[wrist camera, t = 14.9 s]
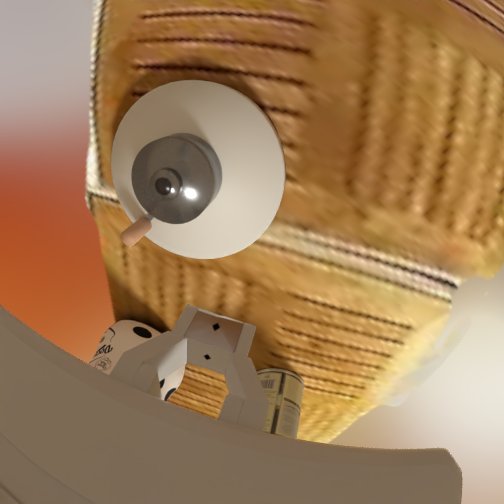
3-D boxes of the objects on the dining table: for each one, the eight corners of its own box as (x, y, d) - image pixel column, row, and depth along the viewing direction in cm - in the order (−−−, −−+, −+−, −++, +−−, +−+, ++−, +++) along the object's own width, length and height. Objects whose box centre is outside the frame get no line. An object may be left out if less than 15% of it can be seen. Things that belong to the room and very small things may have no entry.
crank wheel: (190, 44, 24) (162, 36, 18) (326, 180, 29) (328, 200, 24) (97, 171, 34) (68, 186, 29) (202, 277, 39) (185, 305, 34)
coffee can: (277, 400, 54) (264, 459, 42) (240, 377, 51) (220, 440, 40) (316, 386, 48) (308, 453, 37) (278, 360, 46) (263, 433, 34)
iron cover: (179, 115, 26) (157, 120, 22) (240, 175, 28) (226, 189, 25) (135, 173, 31) (112, 185, 27) (187, 225, 33) (170, 244, 29)
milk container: (105, 302, 49) (52, 369, 34) (184, 324, 46) (137, 411, 31) (127, 357, 58) (90, 417, 43) (195, 378, 56) (164, 450, 40)
